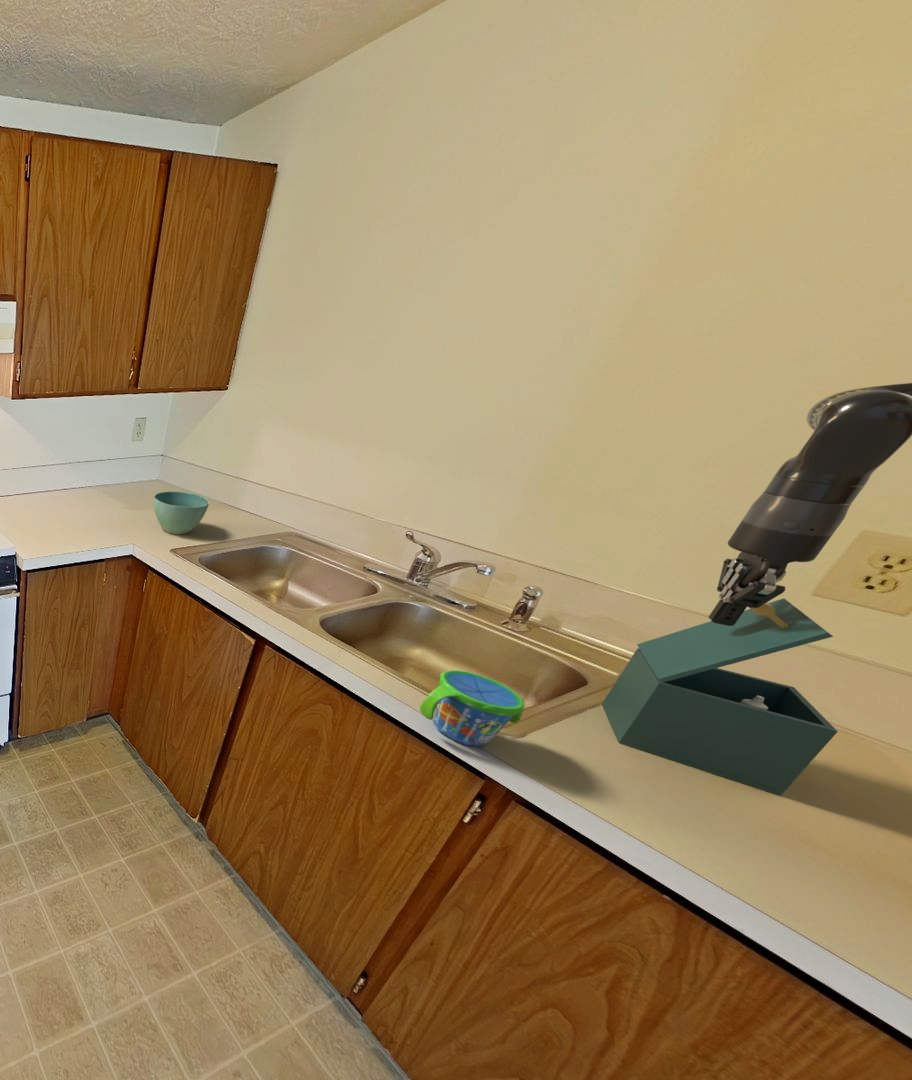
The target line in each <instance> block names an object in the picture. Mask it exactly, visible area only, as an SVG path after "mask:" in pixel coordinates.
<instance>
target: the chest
mask: <svg viewBox="0 0 912 1080" xmlns="http://www.w3.org/2000/svg"><path fill="white" fill-rule="evenodd" d="M756 696H762V697H764V701H763V704H764V705H766V706H767V707H768V709H767V710H764V709H760V708H756V707H753V706H749V705H745V704H741V703H740V702H741V701H742V699H750V700H751V699H753V698H754V697H756ZM601 706H602V708H603V710H604V711H603V712H604V713H605V715H606V718H607V720H608V722H609V725H610V727H611V729H612V732H613V733H614V736H615V738H616V741H617V743H618V744H621V745H624V746H627V747H630V748H634V749H636V750H639V751H643V752H645V753H649V754H652V755H654V756H657V757H661V758H664V759H667V760H670V761H673V762H676V763H679V764H682V765H686V766H688V767H691V768H695V769H698V770H700V771H704V772H707V773H711V774H712V775H716V776H719V777H721V778H724V779H729V780H731V781H734V782H736V783H741V784H744V785H746V786H749V787H752V788H755V789H759V790H762V791H764V792H768V793H771V794H774V795H776V796H777V795H778V796H779V797H780V796H782V795H783V794H784V793H785V792H786V791H787V789H789V787H790V786H791V785H792V784H793V782H795V781H796V780H797V778H798V777H799V776H800V775H801V774H802V773H803V772H804V770H805V769H806V768H807V767H808V766H809V764H810V763H811V762H812V761H813V760H814V759H815V758H816V757H817V756H818V755H819V754H820V752H821V751H822V750H823V749H824V748H825V747H826V746H827V745H828V743H829V742H830V741H831V740H832V739H833V738H834V737H835V736H836V734H837V733H839V732H838V730H837V729H836V728H835V727H834V726H833V725H832V723H830V721H828V720H827V719H826V718H825V717H824V716H823V714H821V713H820V712H819V710H817V709H816V708H815V706H814V705H812V703H810V701H808V700H807V698H805V696H804V695H802V694H801V693H800V692H799V691H798V690H797V689H796V687H794V686H791V685H787V684H783V683H779V682H775V681H771V680H767V679H764V678H758V677H755V676H751V675H746V674H743V673H740V672H739V673H738V672H735V671H731V670H727V669H723V668H720V667H719V668H715V669H711V670H708V671H704V672H700V673H697V674H693V675H689V676H685V677H682V678H678V679H674V680H671V681H667V682H661V681H660V680H659V679H658V677H657V676H656V674H655V673H654V671H653V669H652V668H651V666H650V665H649V663H648V661H647V660H646V658H645V657H644V655H643V654H642V652H641V650H640V649H639V647H638V648H636V650H635V651H634V653H633V654H632V656H631V657H630V659H629V661H628V662H627V664H626V665H625V667H624V668H623V670H622V671H621V673H620V674H619V676H618V677H617V679H616V681H615V683H614V684H613V686H612V687H611V689H610V691H609V692H608V693H607V695H606V697H605V698H604V700H603V701H602V703H601Z"/></svg>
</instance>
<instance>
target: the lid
mask: <svg viewBox="0 0 912 1080" xmlns="http://www.w3.org/2000/svg"><path fill="white" fill-rule="evenodd" d="M833 637H834V635H832V634H831V633H830V632H829V631H827V630H826V629H824V628H823V627H822V626H820V625H819V624H818V623H817V622H815V621H814V620H813V619H811V618H810V617H809V616H808V615H806V614H805V613H804V612H803V611H802V610H800V609H799V608H798V607H796V606H795V605H793V604H792V602H790V601H789V600H788V599H786V598H784V597H783V598H780V599H777V600H774V601H769V602H767V603H765V604H763V605H762V606H760V607H758V608H754V607H748V609H745V610H744V612H743V613H742V615H741V616H740V618H739V619H738V620H737V622H736V623H735V625H733V626H727V625H722V624H718V623H714V622H712V621H711V620H709V621H707V622H703V623H701V624H697V625H694V626H691V627H688V628H685V629H682V630H678V631H675V632H672V633H669V634H665V635H661V636H659V637H656V638H652V639H650V640H646V641H643V642H640V643H636V645H637V647H638V648H639V649H640V650H641V652H642V654H643V655H644V657H645V658H646V660H647V661H648V663H649V665H650V666H651V668H652V669H653V671H654V673H655V674H656V676H657V677H658V679H659V680H660V681H661V682H667V681H671V680H674V679H678V678H682V677H685V676H689V675H693V674H697V673H700V672H704V671H708V670H711V669H715V668H719V669H720V668H722V667H725V666H729V665H733V664H737V663H742V662H744V661H749V660H752V659H755V658H759V657H763V656H767V655H770V654H774V653H777V652H781V651H785V650H789V649H793V648H797V647H800V646H803V645H807V644H812V643H815V642H819V641H823V640H826V639H831V638H833Z"/></svg>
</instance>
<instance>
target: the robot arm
mask: <svg viewBox="0 0 912 1080" xmlns="http://www.w3.org/2000/svg"><path fill="white" fill-rule="evenodd" d="M806 423H807V424H808V427H809V428H811V430H813V432H812V434H811V435H810V437H809V438H808V440H807V441H806V443H804V445H803V447H802V448H801V449H800V451H799V453H798V454H797V455H795V456H793V457H789V458H788V459H787V460H786V461H784V462H783V463H782V464H781V466H779V468H778V469H777V471H776V473H774V475H773V477H772V478H771V480H770V481H769V483H768V484H767V486H766V487H765V489H764V491H763V492H762V493H761V494H760V496H759V497H758V498H757V499H756V500H755V501H754V502H753V503H752V504H751V506H749V509H748V510H747V511H746V513H745V514H744V516H743V518H742V519H741V521H740V523H739V524H738V525H737V527H736V529H735V530H734V532H733V533H732V535H731V537H730V538H729V540H728V541H727V545H728V547H729V548H731V549H733V550H735V551H737V552H739V554H738V555H737V557H735V558H734V557H733V559H732V558H726V559H725V560H724V561H723V562H722V563H723V564H722V568H721V572H720V576H719V580H718V584H717V587H716V592H719V594H718V599H719V600H718V602H717V603H716V605H715V607H714V608H713V609H712V611H711V612H710V614H709V615H708V618H709V620H710V621H712V622H714V623H718V624H722V625H727V626H733V625H735V623H736V622H737V620H738V619H739V618H740V616H741V615H742V613H743V612H744V611H745V610H747V608H749V607H754V608H758V607H760V606H762V605H763V604H765V603H769V602H771V600H774V599H775V598H776V597H778V596H781V595H782V594H784V593H785V591H786V586H785V585H780V584H777V583H779V582H781V581H783V580H784V577H786V574H787V571H786V569H787V567H788V565H789V564H790V563H809V562H813V561H814V560H815V559H816V558H817V557H818V555H819V554H820V553H821V552H822V550H823V549H824V547H825V546H826V545H827V543H828V542H829V540H830V539H831V537H832V536H833V535H834V533H836V531H837V530H838V528H839V527H840V526H841V524H842V523H843V521H844V520H845V518H846V517H847V514H848V511H849V508H850V507H851V506H852V504H853V503H854V502H855V500H856V498H858V496H859V494H860V493H861V492H862V490H863V489H864V487H865V486H866V485H867V483H868V481H869V480H870V478H871V476H872V475H873V473H874V472H875V471H876V470H878V468H880V467H881V466H882V465H883V464H884V463H886V462H887V461H888V460H889V459H890V458H891V457H892V456H893V455H894V454H895V453H896V452H897V451H899V449H901V447H902V446H903V445H905V444H906V442H908V440H909V439H910V438H911V437H912V382H905V383H896V384H895V383H894V384H886V385H876V386H867V387H860V388H859V387H858V388H854V389H853V388H852V389H847V390H843V391H841V392H837V393H834V394H831V395H829V396H826V397H825V398H822V399H821V400H819V401H818V402H816V403H815V404H814V405H813V406H812V407H810V409H809V410H808V412H807V415H806Z"/></svg>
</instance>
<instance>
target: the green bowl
mask: <svg viewBox="0 0 912 1080" xmlns="http://www.w3.org/2000/svg"><path fill="white" fill-rule="evenodd" d="M209 505H210V501H209V500H208V498H206V497H204V496H202V495H199V494H195V493H190V492H185V491H171V490H170V491H161V492H157V493H155V494H154V495H153V510H154V515H155V518H156V520H157V522H158V523H159V525H160V527H161V529H162V530H163V531H165V532H167V533H169V534H173V535H185V534H188V533H190V532H191V531H192V530H194V528H196V527H197V525H198V524H199V523H200V522H201V521H202V520H203V518H204V517H205V515H206V512H207V510H208V508H209Z"/></svg>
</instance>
